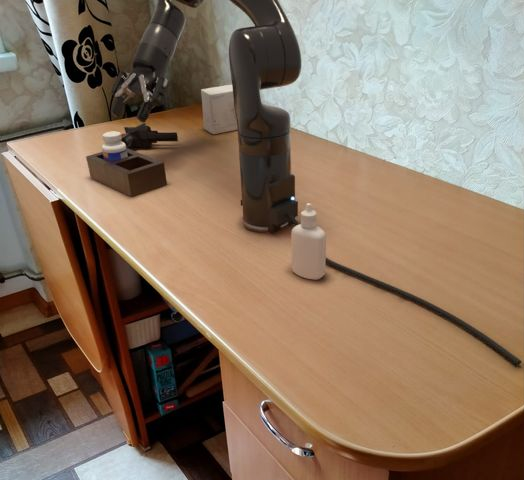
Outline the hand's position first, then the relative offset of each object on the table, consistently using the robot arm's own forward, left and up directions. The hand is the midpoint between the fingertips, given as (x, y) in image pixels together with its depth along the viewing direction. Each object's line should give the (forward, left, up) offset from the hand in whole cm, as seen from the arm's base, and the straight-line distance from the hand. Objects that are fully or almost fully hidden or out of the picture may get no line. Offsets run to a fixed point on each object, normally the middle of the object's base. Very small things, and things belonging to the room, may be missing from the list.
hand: (127, 117), depth 129 cm
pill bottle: (-1, +5, -12) cm, 13 cm away
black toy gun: (+12, -13, -12) cm, 21 cm away
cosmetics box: (+8, -35, -12) cm, 37 cm away
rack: (-5, +5, -12) cm, 14 cm away
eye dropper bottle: (-63, +8, -12) cm, 65 cm away
